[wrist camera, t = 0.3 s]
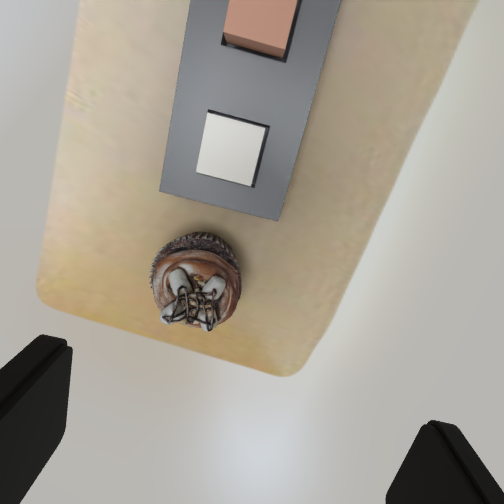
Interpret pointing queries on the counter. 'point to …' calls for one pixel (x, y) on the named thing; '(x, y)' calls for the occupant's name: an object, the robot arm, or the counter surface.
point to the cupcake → (196, 281)
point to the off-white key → (229, 149)
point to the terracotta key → (260, 24)
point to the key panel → (244, 103)
